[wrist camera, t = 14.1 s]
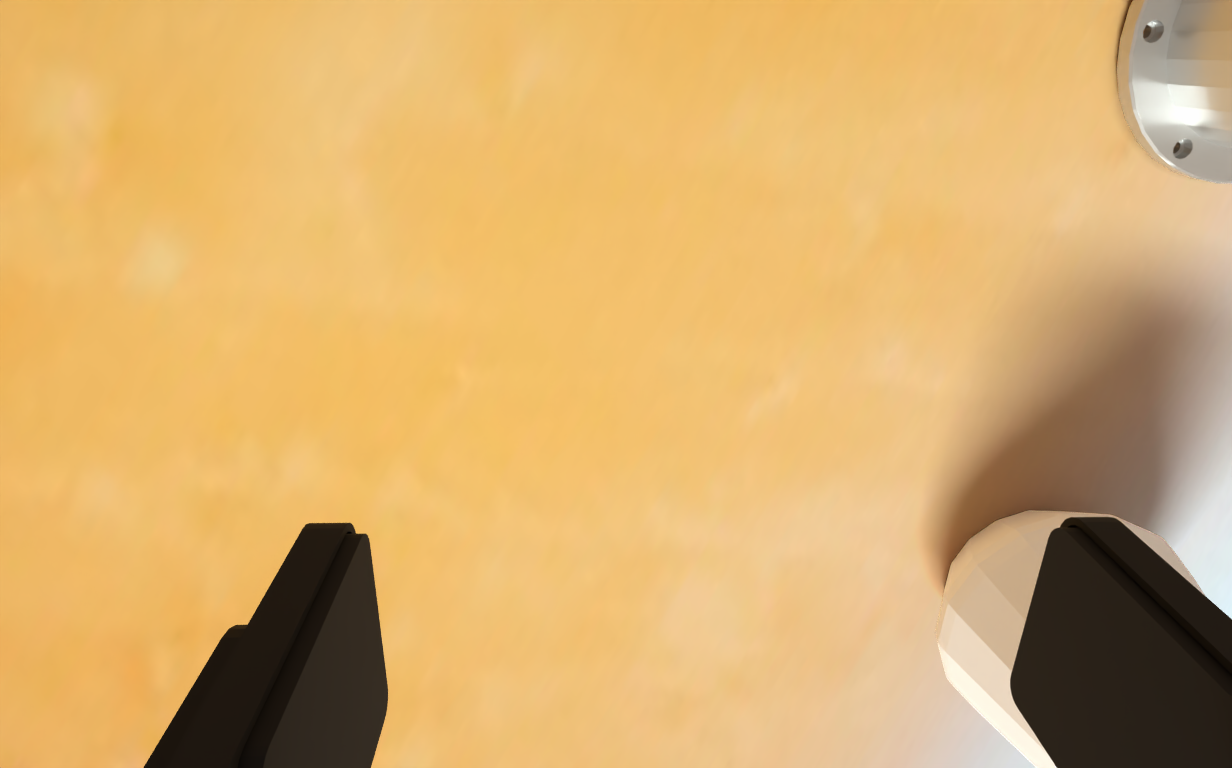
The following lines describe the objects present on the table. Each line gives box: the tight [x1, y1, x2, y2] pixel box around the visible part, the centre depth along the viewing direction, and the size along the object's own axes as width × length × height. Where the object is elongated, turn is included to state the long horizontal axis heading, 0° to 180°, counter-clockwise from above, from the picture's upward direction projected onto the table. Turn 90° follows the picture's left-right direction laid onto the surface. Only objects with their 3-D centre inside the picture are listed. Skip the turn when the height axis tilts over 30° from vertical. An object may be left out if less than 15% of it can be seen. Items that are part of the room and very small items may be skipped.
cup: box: [935, 510, 1204, 768], centre depth 40 cm, size 13×13×14 cm
